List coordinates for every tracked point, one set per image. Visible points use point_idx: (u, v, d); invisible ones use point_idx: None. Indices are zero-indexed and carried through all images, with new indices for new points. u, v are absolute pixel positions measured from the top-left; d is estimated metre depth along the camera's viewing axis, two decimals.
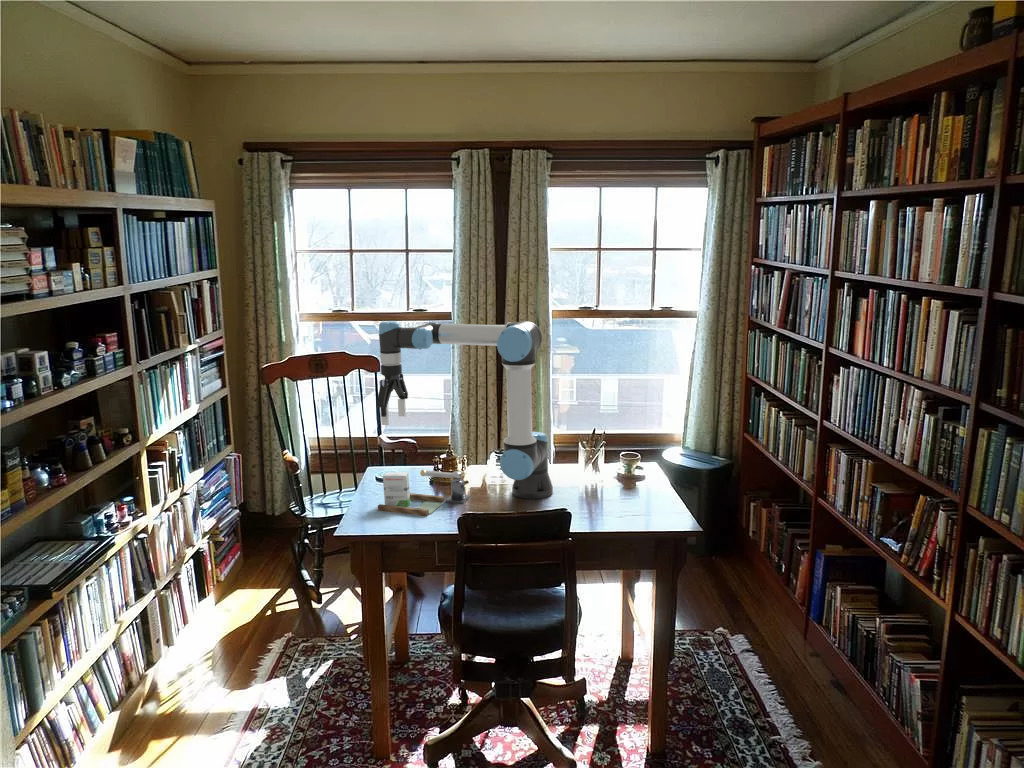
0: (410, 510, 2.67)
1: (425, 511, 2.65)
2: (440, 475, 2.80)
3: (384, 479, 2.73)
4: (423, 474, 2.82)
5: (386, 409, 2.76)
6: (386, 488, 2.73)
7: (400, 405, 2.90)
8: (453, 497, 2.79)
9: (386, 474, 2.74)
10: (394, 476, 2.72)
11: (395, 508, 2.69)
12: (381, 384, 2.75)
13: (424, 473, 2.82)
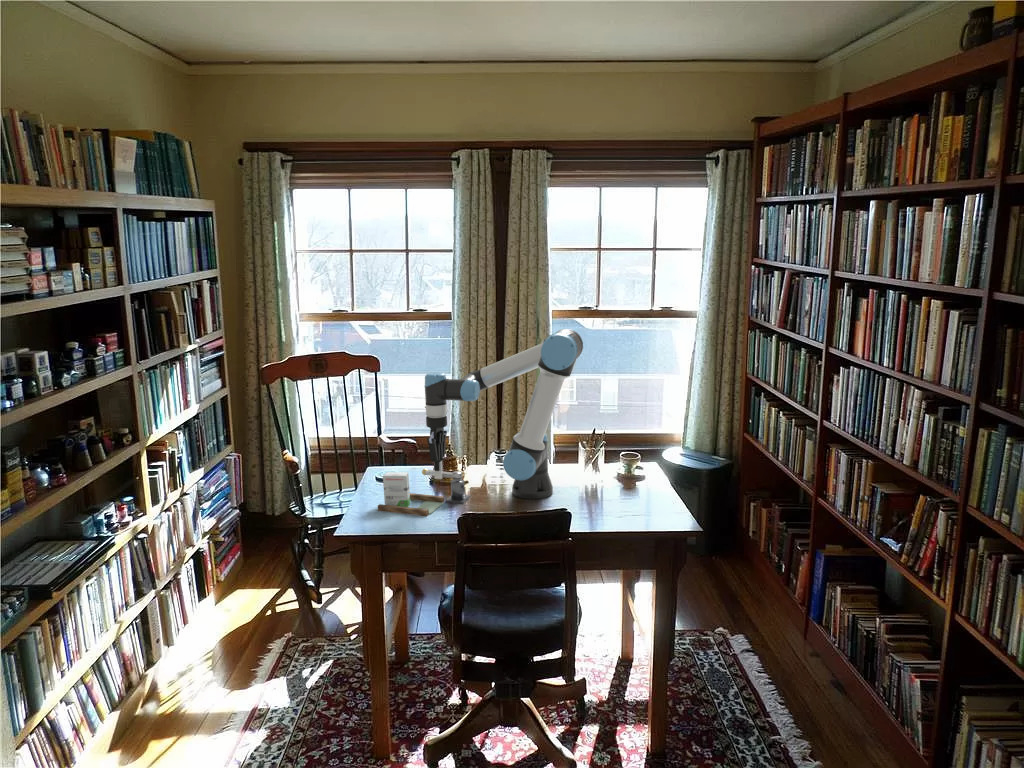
0: (410, 510, 2.67)
1: (425, 511, 2.65)
2: None
3: (384, 479, 2.73)
4: (424, 473, 2.84)
5: (439, 463, 2.79)
6: (386, 488, 2.73)
7: None
8: (453, 497, 2.79)
9: (386, 474, 2.74)
10: (394, 476, 2.72)
11: (395, 508, 2.69)
12: (429, 442, 2.73)
13: (425, 472, 2.83)
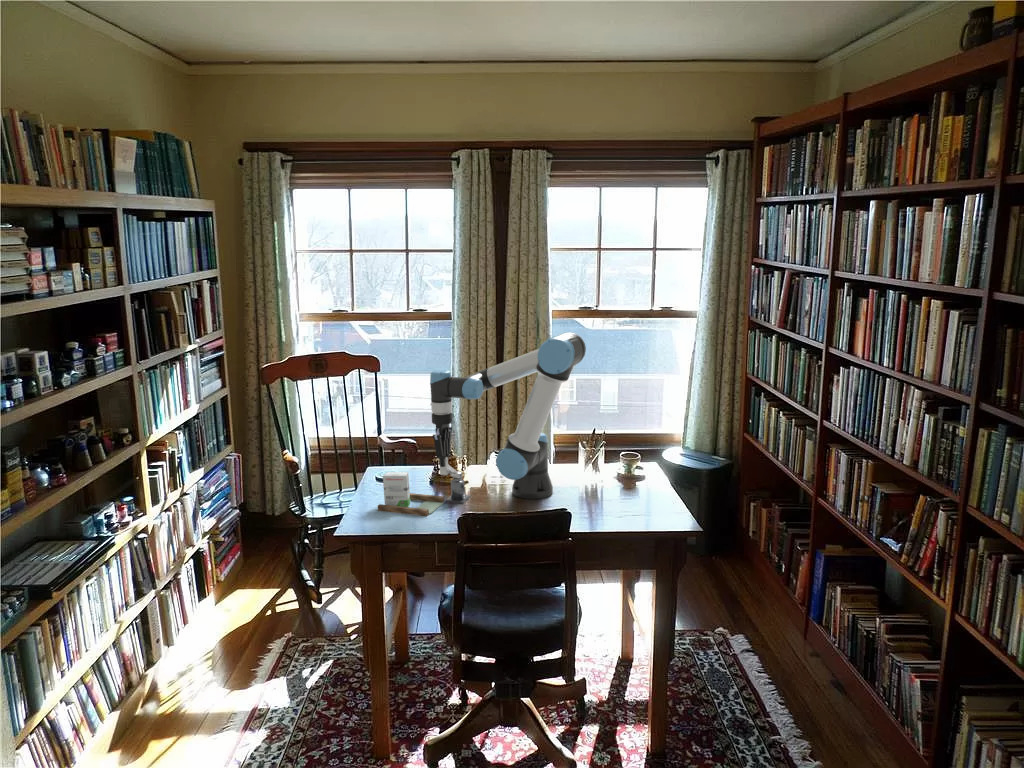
0: (410, 510, 2.67)
1: (425, 511, 2.65)
2: (449, 471, 2.84)
3: (384, 479, 2.73)
4: None
5: (445, 459, 2.83)
6: (386, 488, 2.73)
7: None
8: (453, 497, 2.79)
9: (386, 474, 2.74)
10: (394, 476, 2.72)
11: (395, 508, 2.69)
12: (434, 439, 2.77)
13: None
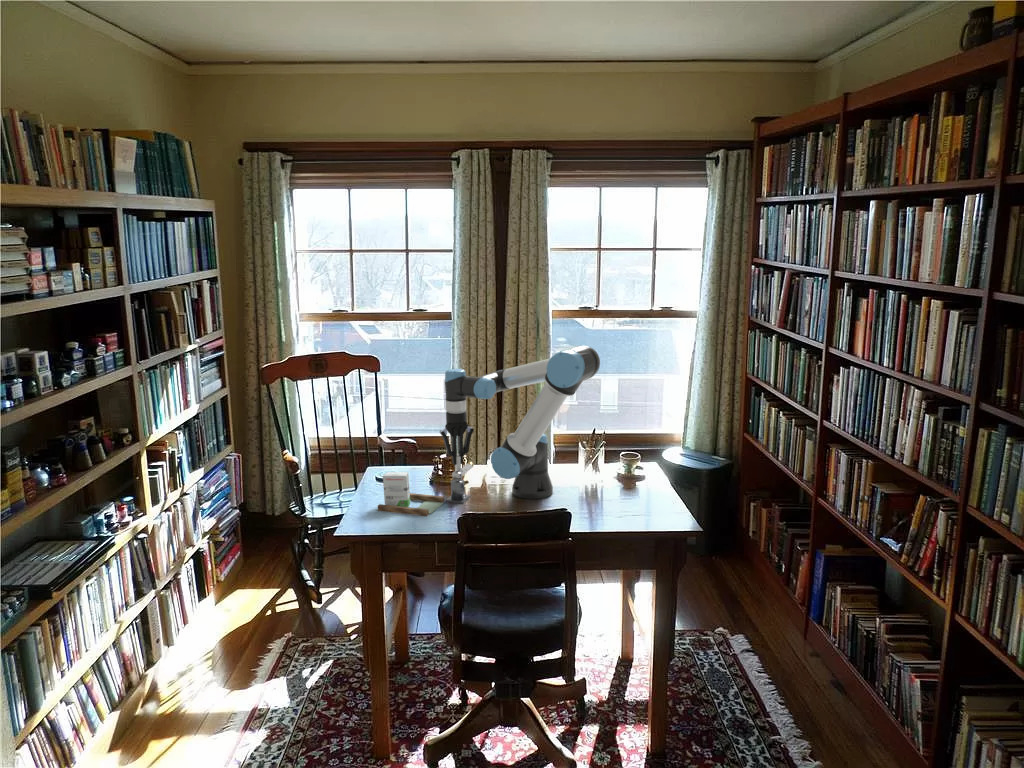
0: (410, 510, 2.67)
1: (425, 511, 2.65)
2: None
3: (384, 479, 2.73)
4: None
5: (456, 458, 2.84)
6: (386, 488, 2.73)
7: None
8: (453, 497, 2.79)
9: (386, 474, 2.74)
10: (394, 476, 2.72)
11: (395, 508, 2.69)
12: None
13: None
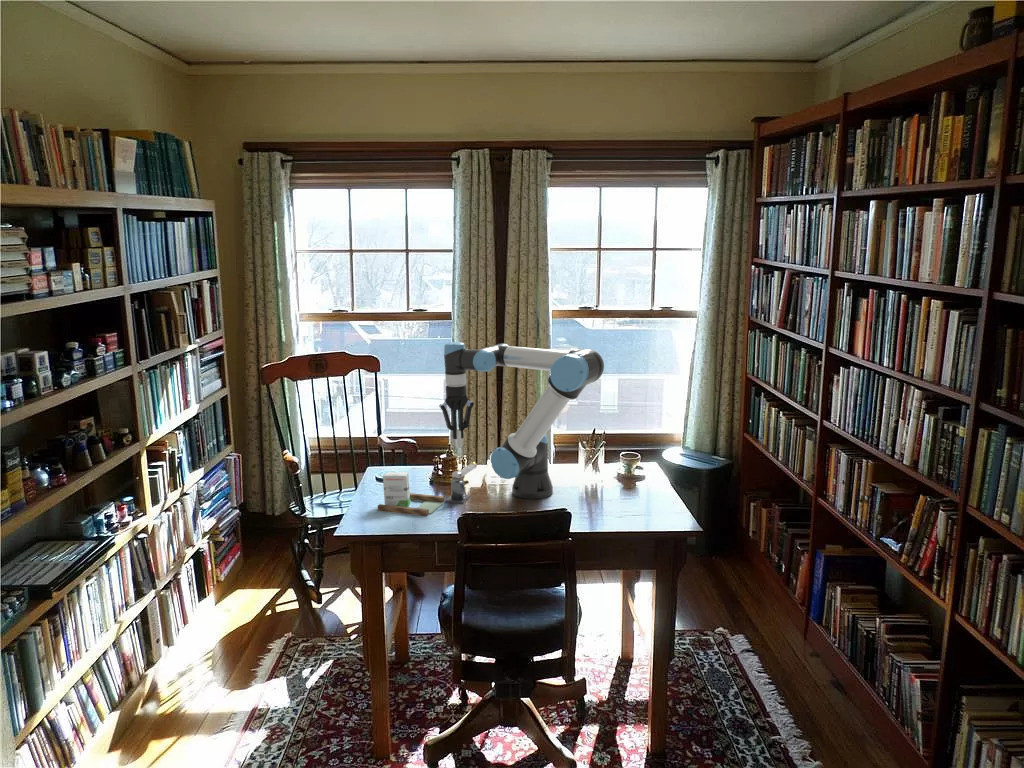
0: (410, 510, 2.67)
1: (425, 511, 2.65)
2: None
3: (384, 479, 2.73)
4: None
5: (456, 432, 2.83)
6: (386, 488, 2.73)
7: None
8: (453, 497, 2.79)
9: (386, 474, 2.74)
10: (394, 476, 2.72)
11: (395, 508, 2.69)
12: None
13: None
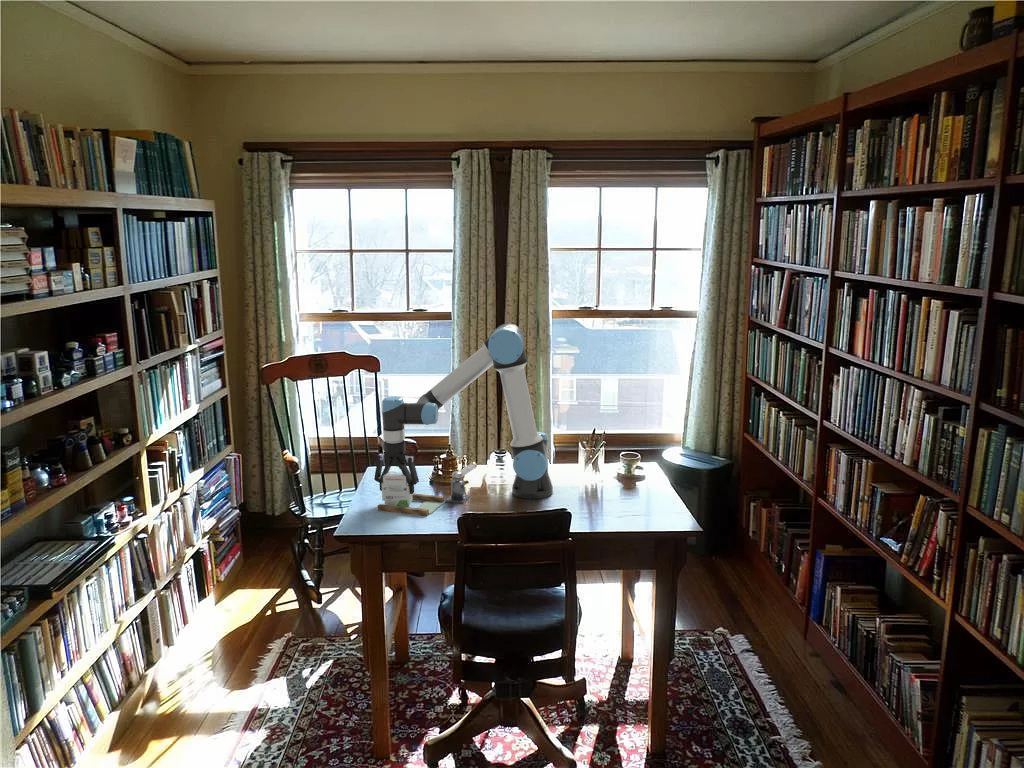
0: (410, 510, 2.67)
1: (425, 511, 2.65)
2: None
3: (384, 479, 2.73)
4: None
5: (381, 484, 2.76)
6: (386, 488, 2.73)
7: None
8: (453, 497, 2.79)
9: (386, 474, 2.74)
10: (394, 476, 2.72)
11: (395, 508, 2.69)
12: None
13: None
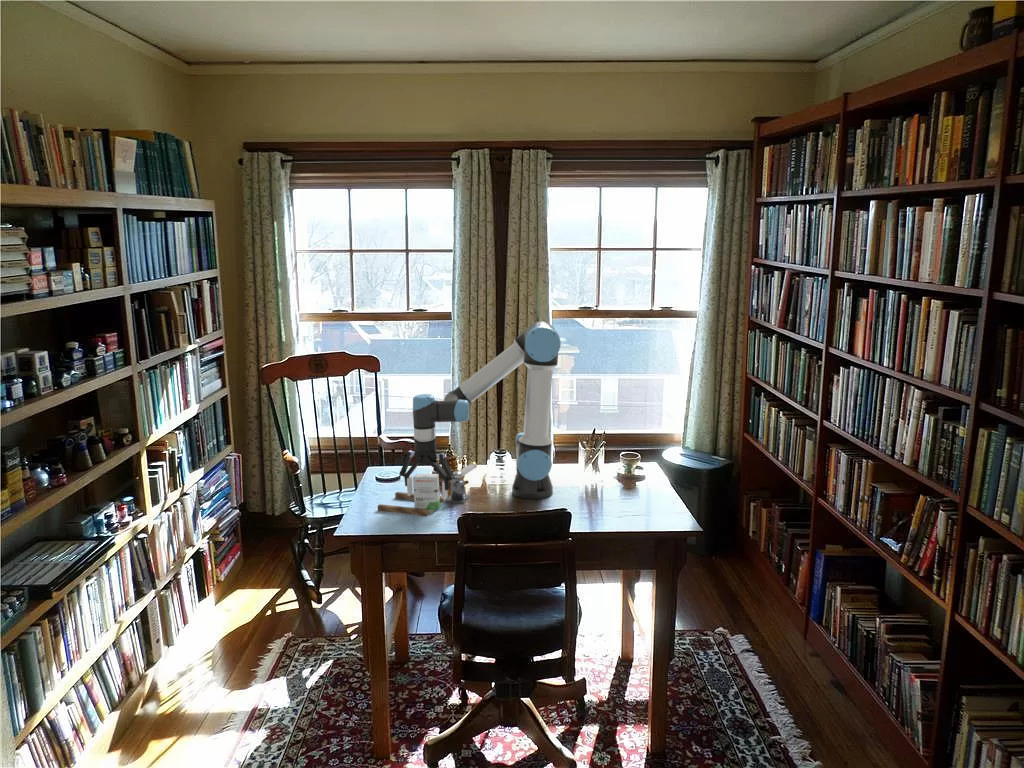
0: (410, 510, 2.67)
1: (425, 511, 2.65)
2: None
3: (414, 480, 2.69)
4: None
5: (407, 480, 2.72)
6: (416, 490, 2.70)
7: None
8: (453, 497, 2.79)
9: (416, 475, 2.70)
10: (424, 478, 2.69)
11: (395, 508, 2.69)
12: None
13: None
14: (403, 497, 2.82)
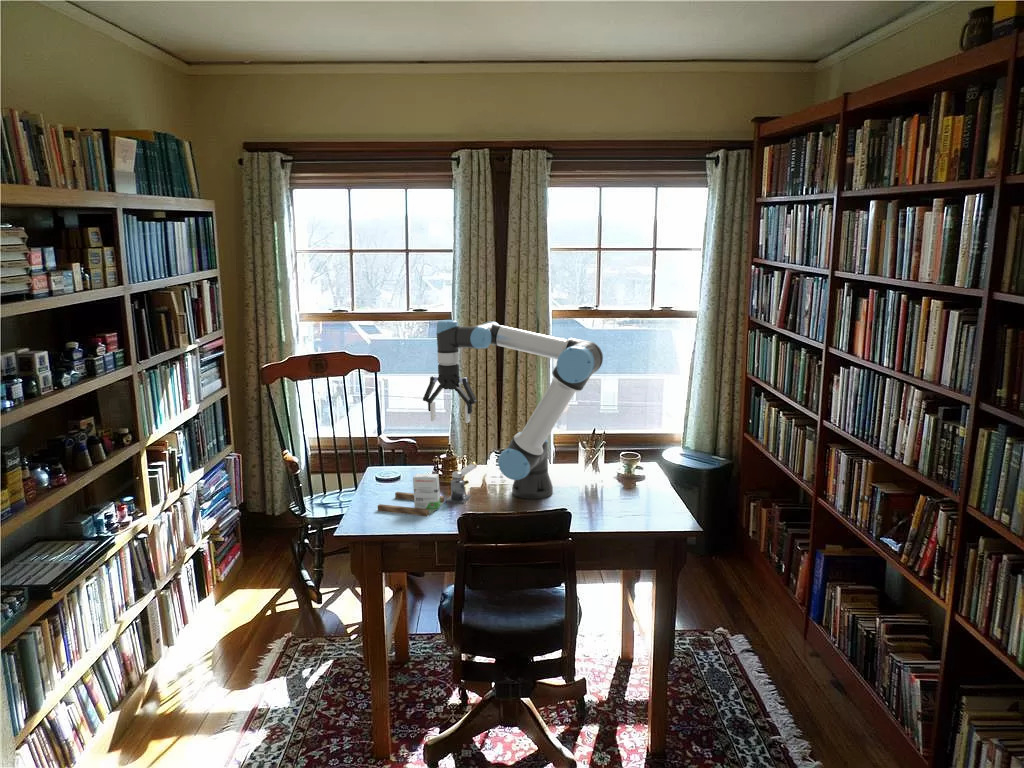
0: (410, 510, 2.67)
1: (425, 511, 2.65)
2: None
3: (414, 480, 2.69)
4: None
5: None
6: (416, 490, 2.70)
7: None
8: (453, 497, 2.79)
9: (416, 475, 2.71)
10: (424, 477, 2.69)
11: (395, 508, 2.69)
12: None
13: None
14: (403, 497, 2.82)
